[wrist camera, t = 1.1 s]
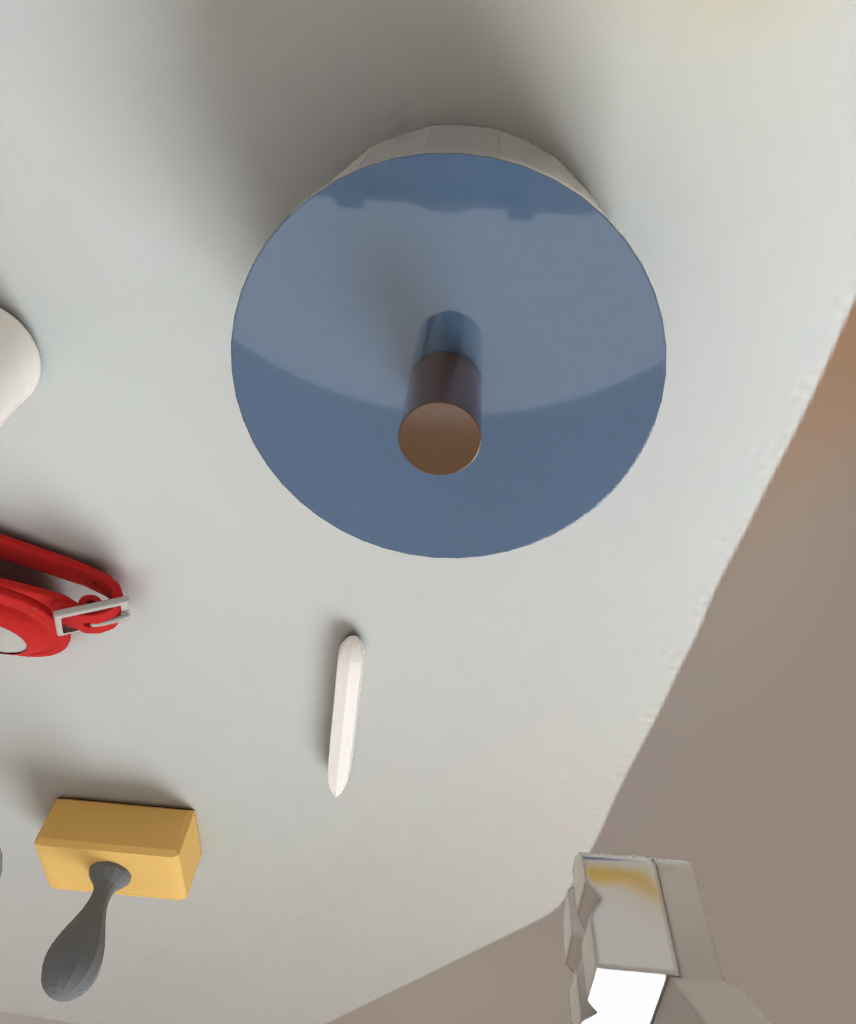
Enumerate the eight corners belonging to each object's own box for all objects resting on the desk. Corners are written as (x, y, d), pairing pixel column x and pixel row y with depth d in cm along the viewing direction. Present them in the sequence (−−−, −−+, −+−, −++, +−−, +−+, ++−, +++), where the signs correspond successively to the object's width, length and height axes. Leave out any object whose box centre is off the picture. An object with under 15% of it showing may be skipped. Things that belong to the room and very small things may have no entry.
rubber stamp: (71, 843, 61) (-11, 1013, 51) (56, 794, 58) (-34, 966, 48) (201, 855, 61) (145, 1028, 51) (194, 807, 58) (132, 982, 48)
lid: (220, 130, 25) (165, 162, 21) (706, 161, 25) (751, 200, 21) (254, 527, 34) (220, 607, 30) (618, 554, 34) (637, 640, 29)
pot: (286, 113, 32) (229, 151, 25) (648, 136, 32) (693, 181, 25) (299, 428, 40) (259, 526, 33) (590, 450, 40) (612, 553, 33)
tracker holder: (19, 685, 50) (-146, 611, 44) (47, 623, 53) (-105, 544, 47) (139, 645, 44) (-35, 552, 38) (164, 576, 46) (5, 478, 40)
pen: (327, 779, 55) (323, 800, 54) (341, 626, 47) (337, 646, 46) (350, 782, 55) (346, 803, 54) (368, 630, 47) (364, 650, 46)
